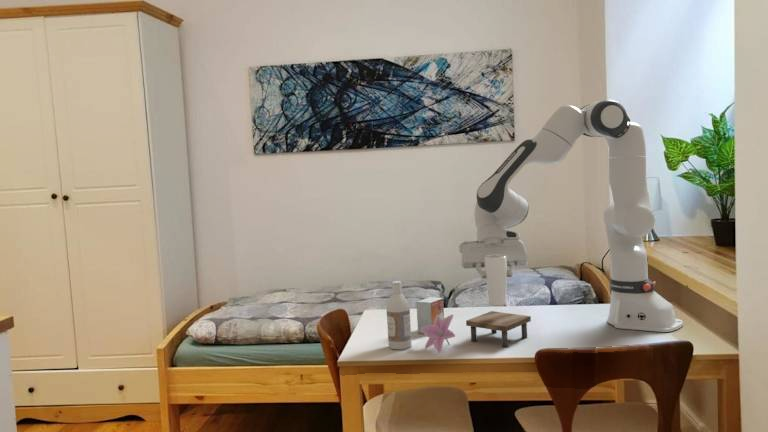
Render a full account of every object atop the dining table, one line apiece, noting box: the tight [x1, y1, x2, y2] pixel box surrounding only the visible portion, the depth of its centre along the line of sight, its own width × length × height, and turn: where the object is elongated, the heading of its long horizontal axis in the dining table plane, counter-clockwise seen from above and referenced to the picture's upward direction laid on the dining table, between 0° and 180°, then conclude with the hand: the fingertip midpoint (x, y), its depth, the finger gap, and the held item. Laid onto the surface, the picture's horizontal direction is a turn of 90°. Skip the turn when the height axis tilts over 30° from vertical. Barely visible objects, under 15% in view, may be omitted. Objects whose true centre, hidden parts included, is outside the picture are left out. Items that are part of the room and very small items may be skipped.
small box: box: [415, 296, 445, 335], centre depth 218 cm, size 8×6×10 cm
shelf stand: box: [465, 310, 532, 348], centre depth 204 cm, size 14×14×6 cm
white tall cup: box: [484, 254, 508, 307], centre depth 203 cm, size 7×7×15 cm
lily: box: [421, 314, 456, 354], centre depth 199 cm, size 12×12×10 cm
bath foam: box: [386, 280, 412, 351], centre depth 202 cm, size 7×7×20 cm
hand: (496, 276), depth 202 cm, fingers closed on white tall cup, 6 cm apart
